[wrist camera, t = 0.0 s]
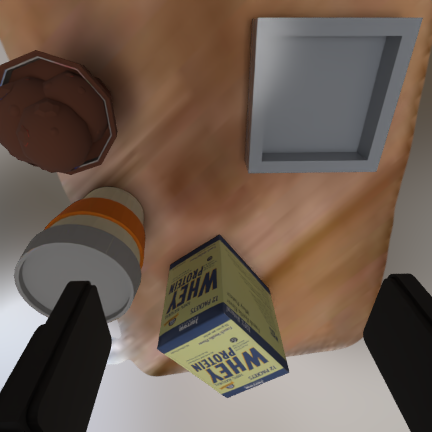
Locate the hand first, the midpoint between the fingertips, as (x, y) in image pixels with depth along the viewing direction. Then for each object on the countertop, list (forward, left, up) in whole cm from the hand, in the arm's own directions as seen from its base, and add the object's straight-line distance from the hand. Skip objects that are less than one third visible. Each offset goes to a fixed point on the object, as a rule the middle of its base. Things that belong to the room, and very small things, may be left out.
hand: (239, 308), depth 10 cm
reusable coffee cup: (+15, -15, -31) cm, 38 cm away
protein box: (+28, +1, -32) cm, 42 cm away
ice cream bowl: (-1, -15, -31) cm, 35 cm away
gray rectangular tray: (-1, +12, -31) cm, 33 cm away
